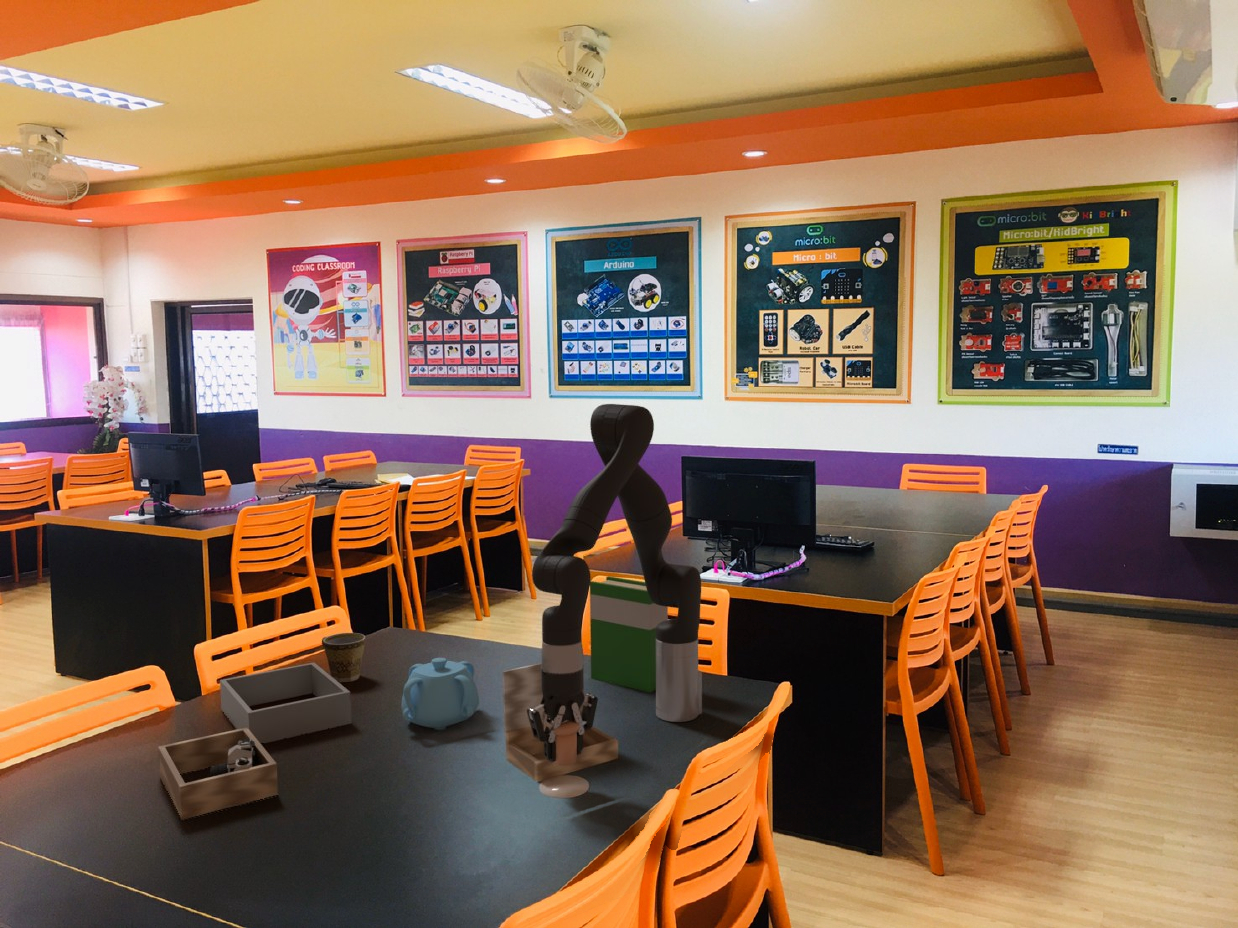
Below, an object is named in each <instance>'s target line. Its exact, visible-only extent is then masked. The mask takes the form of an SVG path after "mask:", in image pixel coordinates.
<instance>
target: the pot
mask: <svg viewBox="0 0 1238 928" xmlns="http://www.w3.org/2000/svg"><path fill="white" fill-rule="evenodd" d="M552 722H554V721H552ZM579 729H580V727H579V723H575V722H574V721H572V720H566V721H564V722H562V723H561V724H560V728H557V729H556V730H554V734H555V735H556V736H555V740H554V742H556V761H555V762H551V763H553V764H555V765H560V766H566V765H571V764H574V763H575V762H576V761H577V732H578V731H579ZM548 732H550V728H549V727H548Z"/></svg>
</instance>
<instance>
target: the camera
mask: <svg viewBox="0 0 1238 928" xmlns="http://www.w3.org/2000/svg"><path fill="white" fill-rule="evenodd" d="M254 747H255V742H254V741H253V740H250V739H249V738H244V739H241V740H240V741H239V742H238V745H236V746H234V747H232V748H231V749H229V751H228V763H227V762H226V763H224V764H222V765H219V764H217V765H214V767H211V768H210V769H209V771H210V772H209V777H213V776H218V775H222V774H226V773H230V772H234V771H238V770H243V769H247V768H251V767H254V761H255V751H254Z"/></svg>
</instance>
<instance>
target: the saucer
mask: <svg viewBox="0 0 1238 928" xmlns="http://www.w3.org/2000/svg"><path fill="white" fill-rule="evenodd" d="M538 788H539V789H538V790H539V791H540V793H542V794H543V795H545V796H547V797H550V798H554V799H555V798H556V799H569V798H575V797H578V796H581V795H583V794H585V793H587V791H588V790H589V789H590V783H589V782H588V781H587V779H585V778H583V777H581V776H577V775H571V774H569V775H568V774H567V775H566V774H563V775H560V776H554V777H551V778H548V779H546V780H543V781H541V782H540V783H539V787H538Z"/></svg>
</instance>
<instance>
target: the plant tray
mask: <svg viewBox="0 0 1238 928" xmlns="http://www.w3.org/2000/svg"><path fill="white" fill-rule="evenodd" d="M219 685H220V686H219V687H220V702H221V704H220V707H221V708H220V709H221V711H222V713H223V712H224V713H223V714H224V715H225V716H227V717H226V718H227V719H228V718H229V719H228V720H229V722H230V723H231V724H232V725H233V727H234V728H235V730H237V729H242V728H246V727H247V728H248V729H249V730H250V732H251V733H252V734H253V735H254V737H255V738H256V739H257V740H258V741H259V743H260V744H261V743H264V744H268V743H272V742H276V741H281V740H284V738H286V739H289V738H294V737H298V736H302V735H301V734H303V735H306V734H305V733H307V734H311V733H315V732H321V731H323V730H329V729H333V728H337V726H338V727H342V726H347V725H350V724H353V723H352V702H351V691H350V690H349V689H347V688H346V687H344V686H343V685H342V683H341V682H337V681H336V680H335V679H334V678H333V677H331V674H329V673H327V671H326V670H324V669H323V668H322V667H320V666H319V665H318V664H316V662H310V663H304V664H299V665H293V666H289V667H284V668H283V667H282V668H277V669H271V670H267V671H262V672H261V671H260V672H255V673H251V674H246V675H239V676H234V677H228V678H224V679H220V680H219ZM310 694H311V695H312V694H313V696H315V697H312V698H306V699H302V700H297V701H292V702H287V703H282V704H278V705H273V706H269V707H263V708H259V709H254V710H252V709H251V708H250V707H251V706H252V707H253V706H258V705H262V704H266V703H272V702H276V701H281V700H286V699H290V698H296V697H300V696H306V695H310ZM328 728H329V729H328ZM261 745H262V744H261Z"/></svg>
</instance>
